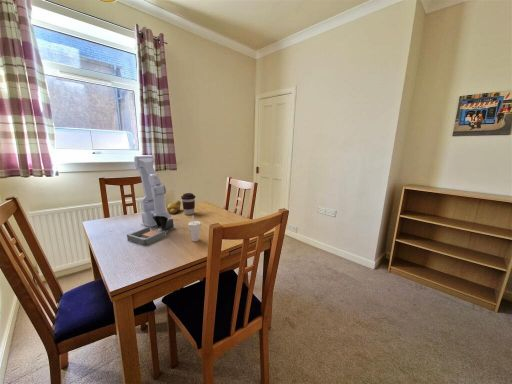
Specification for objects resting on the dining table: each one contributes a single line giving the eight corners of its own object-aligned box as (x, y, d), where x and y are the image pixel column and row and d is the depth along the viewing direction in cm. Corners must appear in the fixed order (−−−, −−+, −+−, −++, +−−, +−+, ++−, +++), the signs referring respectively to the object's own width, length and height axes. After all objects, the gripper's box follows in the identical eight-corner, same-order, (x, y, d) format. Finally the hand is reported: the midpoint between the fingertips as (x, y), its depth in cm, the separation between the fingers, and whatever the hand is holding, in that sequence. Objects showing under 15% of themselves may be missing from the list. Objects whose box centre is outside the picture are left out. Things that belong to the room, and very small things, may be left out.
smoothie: (190, 237, 119) (189, 213, 116) (202, 237, 120) (201, 213, 117) (188, 242, 113) (186, 217, 110) (200, 242, 114) (199, 217, 111)
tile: (142, 237, 119) (142, 234, 119) (153, 233, 125) (153, 230, 125) (151, 240, 116) (150, 236, 116) (161, 235, 122) (161, 232, 122)
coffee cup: (198, 212, 163) (197, 193, 160) (190, 216, 154) (189, 196, 151) (187, 210, 166) (186, 192, 163) (179, 214, 157) (178, 194, 154)
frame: (127, 239, 115) (126, 234, 114) (148, 231, 126) (148, 226, 126) (145, 245, 109) (144, 240, 108) (165, 236, 121) (165, 231, 120)
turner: (167, 226, 135) (166, 217, 134) (177, 228, 132) (176, 219, 131) (152, 232, 125) (151, 223, 124) (162, 234, 122) (161, 225, 121)
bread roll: (177, 214, 158) (177, 204, 156) (164, 214, 157) (163, 204, 155) (182, 209, 170) (181, 199, 169) (169, 209, 169) (168, 199, 168)
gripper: (145, 205, 123) (147, 227, 126) (163, 209, 117) (165, 232, 119) (155, 202, 129) (157, 224, 132) (173, 206, 123) (174, 228, 126)
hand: (161, 227), depth 126 cm, fingers closed on turner, 2 cm apart
